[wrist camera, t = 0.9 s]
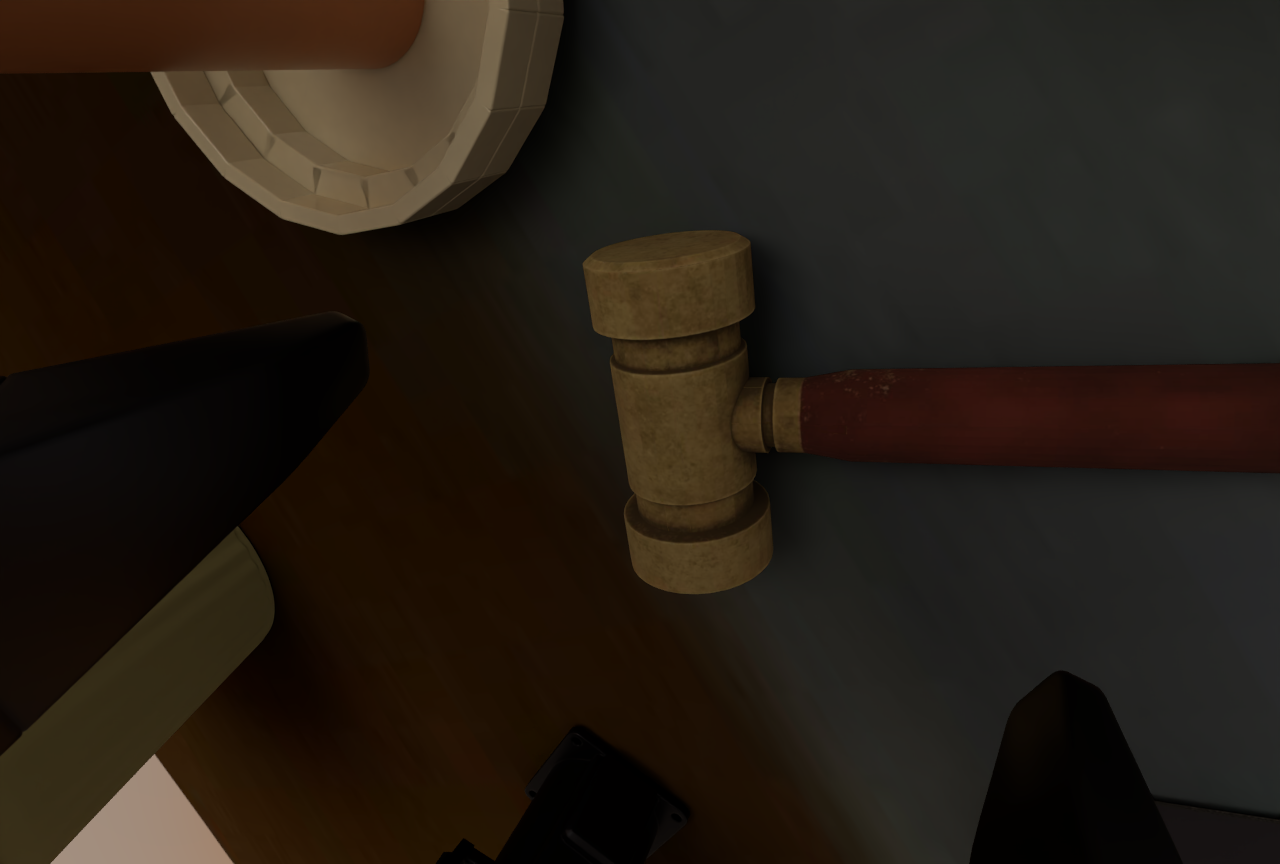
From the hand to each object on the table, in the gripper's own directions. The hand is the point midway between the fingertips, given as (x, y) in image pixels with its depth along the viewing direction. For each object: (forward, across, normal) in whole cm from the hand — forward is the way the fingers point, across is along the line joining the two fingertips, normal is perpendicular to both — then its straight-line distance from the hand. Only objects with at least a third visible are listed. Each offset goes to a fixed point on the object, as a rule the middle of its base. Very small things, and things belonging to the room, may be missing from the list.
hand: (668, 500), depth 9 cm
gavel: (+14, -5, +5) cm, 15 cm away
